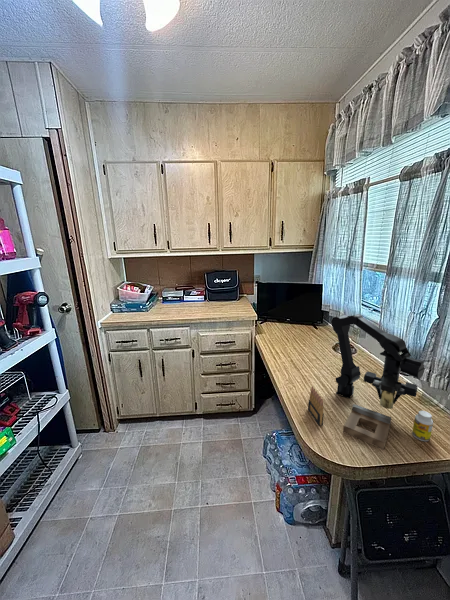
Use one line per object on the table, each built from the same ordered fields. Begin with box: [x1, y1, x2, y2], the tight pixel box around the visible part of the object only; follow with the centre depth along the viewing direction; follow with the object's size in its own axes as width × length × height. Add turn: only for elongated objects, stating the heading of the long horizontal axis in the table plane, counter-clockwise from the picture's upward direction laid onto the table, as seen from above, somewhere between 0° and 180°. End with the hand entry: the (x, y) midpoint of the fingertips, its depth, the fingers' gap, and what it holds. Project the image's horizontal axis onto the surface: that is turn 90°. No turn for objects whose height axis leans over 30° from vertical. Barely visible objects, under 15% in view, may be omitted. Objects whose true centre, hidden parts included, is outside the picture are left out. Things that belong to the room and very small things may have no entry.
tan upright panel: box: [307, 386, 325, 426], centre depth 110 cm, size 11×2×12 cm, turn 6°
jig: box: [342, 403, 392, 450], centre depth 103 cm, size 14×14×5 cm
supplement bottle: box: [411, 410, 434, 442], centre depth 98 cm, size 6×6×10 cm
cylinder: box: [379, 390, 396, 410], centre depth 110 cm, size 5×5×8 cm
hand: (386, 400), depth 110 cm, fingers closed on cylinder, 5 cm apart
